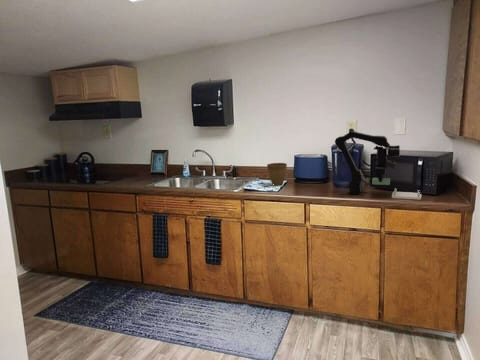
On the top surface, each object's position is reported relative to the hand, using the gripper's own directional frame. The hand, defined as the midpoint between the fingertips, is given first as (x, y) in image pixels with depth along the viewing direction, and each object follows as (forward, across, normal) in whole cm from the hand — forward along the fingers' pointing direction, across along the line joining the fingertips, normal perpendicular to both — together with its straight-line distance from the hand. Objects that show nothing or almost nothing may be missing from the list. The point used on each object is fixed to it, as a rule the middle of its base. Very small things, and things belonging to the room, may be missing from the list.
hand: (381, 181), depth 224 cm
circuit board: (+2, 0, 0) cm, 2 cm away
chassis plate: (+9, 0, -15) cm, 17 cm away
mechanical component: (+9, +6, +12) cm, 16 cm away
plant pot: (+9, +14, +75) cm, 77 cm away
